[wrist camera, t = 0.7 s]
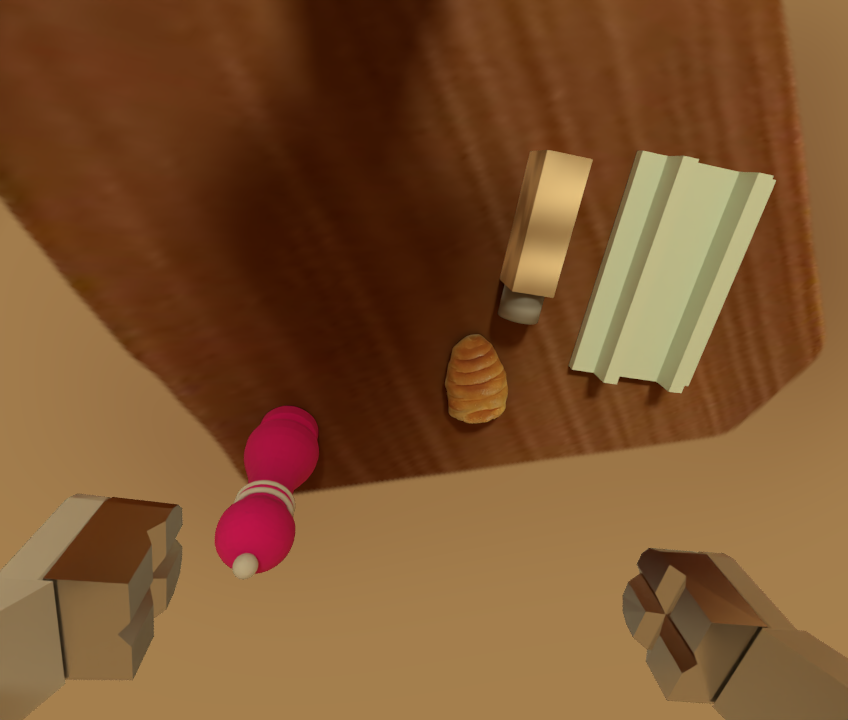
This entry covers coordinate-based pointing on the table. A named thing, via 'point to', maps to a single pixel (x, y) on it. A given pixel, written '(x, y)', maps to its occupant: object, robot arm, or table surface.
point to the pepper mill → (268, 492)
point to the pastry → (475, 381)
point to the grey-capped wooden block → (541, 232)
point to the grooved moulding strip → (668, 268)
